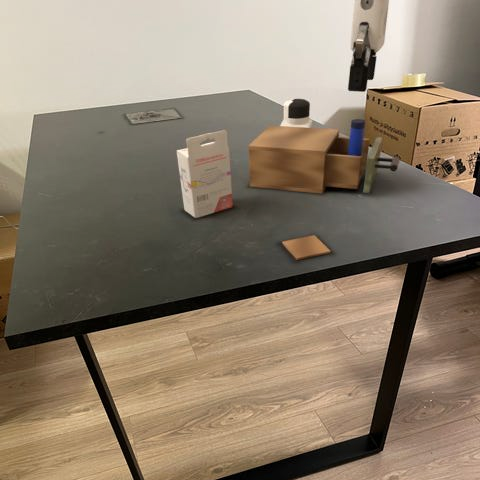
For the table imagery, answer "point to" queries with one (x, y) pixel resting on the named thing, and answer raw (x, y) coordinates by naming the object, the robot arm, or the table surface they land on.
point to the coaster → (306, 247)
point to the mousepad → (153, 116)
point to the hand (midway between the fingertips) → (361, 85)
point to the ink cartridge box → (205, 174)
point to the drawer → (354, 164)
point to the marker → (356, 137)
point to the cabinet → (290, 158)
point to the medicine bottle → (297, 114)
